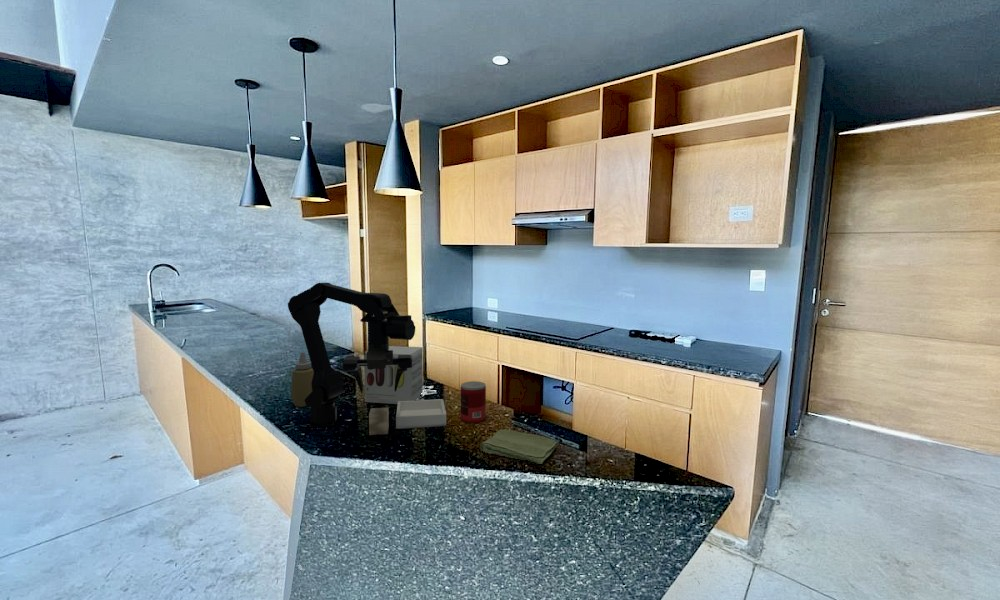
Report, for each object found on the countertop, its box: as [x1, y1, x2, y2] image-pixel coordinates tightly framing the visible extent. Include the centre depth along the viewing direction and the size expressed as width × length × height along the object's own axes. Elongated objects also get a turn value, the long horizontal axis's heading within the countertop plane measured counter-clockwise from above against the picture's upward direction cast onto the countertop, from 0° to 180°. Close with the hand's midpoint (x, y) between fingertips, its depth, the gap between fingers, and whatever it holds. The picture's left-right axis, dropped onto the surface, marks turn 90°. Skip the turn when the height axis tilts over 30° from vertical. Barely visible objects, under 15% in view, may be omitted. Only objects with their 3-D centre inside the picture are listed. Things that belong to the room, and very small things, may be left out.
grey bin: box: [395, 398, 447, 430], centre depth 128 cm, size 15×15×4 cm
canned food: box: [460, 380, 487, 424], centre depth 128 cm, size 8×8×11 cm
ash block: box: [368, 407, 390, 436], centre depth 118 cm, size 5×5×6 cm
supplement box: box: [364, 345, 424, 405], centre depth 147 cm, size 17×13×18 cm
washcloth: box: [479, 428, 559, 465], centre depth 107 cm, size 13×18×3 cm
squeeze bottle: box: [290, 351, 314, 408], centre depth 139 cm, size 8×8×18 cm
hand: (378, 391), depth 117 cm, fingers open, 9 cm apart
